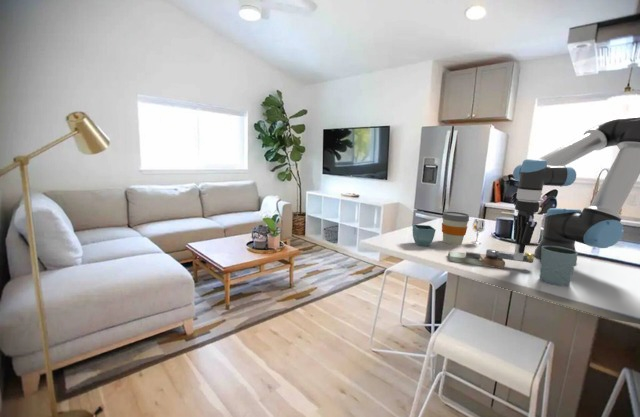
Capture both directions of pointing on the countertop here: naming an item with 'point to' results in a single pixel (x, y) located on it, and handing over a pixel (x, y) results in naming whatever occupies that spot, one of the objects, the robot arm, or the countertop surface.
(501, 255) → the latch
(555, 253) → the grey green cup
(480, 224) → the wineglass
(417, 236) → the flower pot
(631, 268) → the countertop surface
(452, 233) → the reusable coffee cup
